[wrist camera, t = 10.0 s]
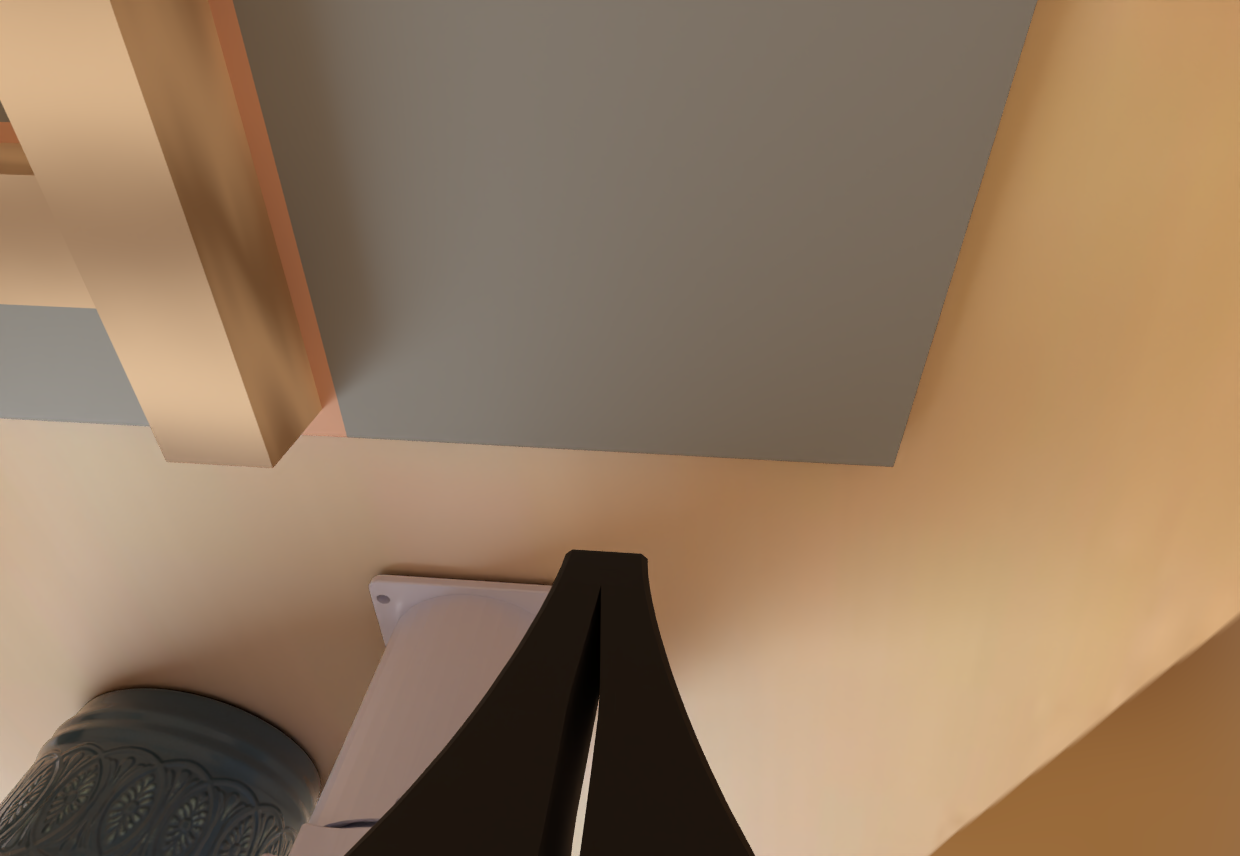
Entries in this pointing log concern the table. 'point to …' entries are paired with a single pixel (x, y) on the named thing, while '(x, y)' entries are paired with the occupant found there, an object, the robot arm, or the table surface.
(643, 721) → the robot arm
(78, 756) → the canister
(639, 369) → the slate board
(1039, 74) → the table surface
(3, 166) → the t block
